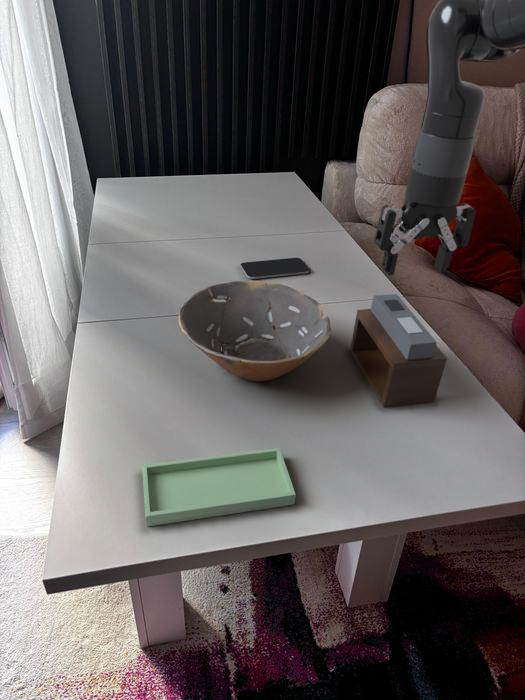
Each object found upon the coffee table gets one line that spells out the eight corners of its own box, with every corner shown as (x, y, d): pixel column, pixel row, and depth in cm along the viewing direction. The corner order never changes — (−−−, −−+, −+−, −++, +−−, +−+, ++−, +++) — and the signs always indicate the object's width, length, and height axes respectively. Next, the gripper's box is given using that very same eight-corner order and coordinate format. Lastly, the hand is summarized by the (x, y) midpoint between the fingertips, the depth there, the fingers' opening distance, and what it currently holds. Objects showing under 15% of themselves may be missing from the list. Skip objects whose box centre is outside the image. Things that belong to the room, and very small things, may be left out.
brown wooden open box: (433, 402, 92) (447, 358, 86) (383, 407, 90) (394, 363, 85) (394, 347, 104) (404, 306, 99) (349, 351, 102) (357, 309, 97)
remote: (432, 357, 86) (437, 341, 84) (406, 360, 85) (411, 343, 84) (393, 308, 98) (397, 293, 96) (370, 310, 97) (373, 294, 95)
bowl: (157, 347, 100) (154, 299, 94) (270, 312, 112) (273, 268, 106) (228, 431, 83) (229, 379, 78) (352, 380, 95) (361, 332, 89)
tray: (278, 457, 80) (279, 447, 78) (294, 504, 73) (295, 494, 72) (143, 474, 76) (142, 464, 74) (146, 526, 69) (145, 516, 68)
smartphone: (311, 270, 126) (248, 277, 122) (310, 273, 127) (248, 280, 122) (299, 257, 132) (239, 262, 127) (299, 259, 132) (239, 265, 128)
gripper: (403, 176, 71) (380, 286, 81) (500, 174, 74) (467, 280, 84) (380, 158, 77) (362, 263, 87) (471, 157, 80) (444, 258, 90)
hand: (414, 271), depth 85 cm, fingers open, 8 cm apart
